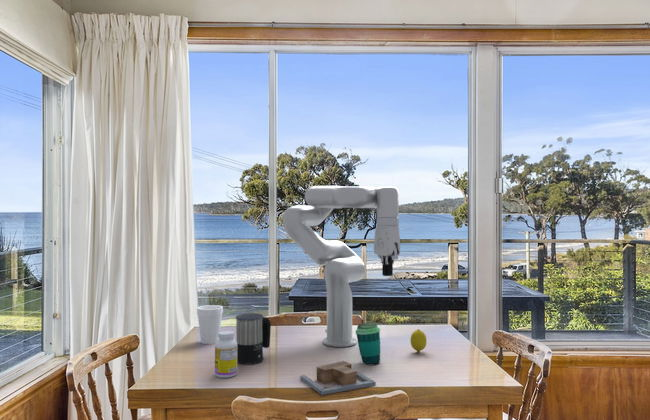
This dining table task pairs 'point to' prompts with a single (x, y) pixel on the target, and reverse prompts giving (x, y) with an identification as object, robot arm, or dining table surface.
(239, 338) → the milk frother
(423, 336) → the lemon
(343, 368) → the t block
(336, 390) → the grey u-shaped bar
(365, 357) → the cup
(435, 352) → the dining table surface
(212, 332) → the foam cup
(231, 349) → the supplement bottle
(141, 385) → the dining table surface
